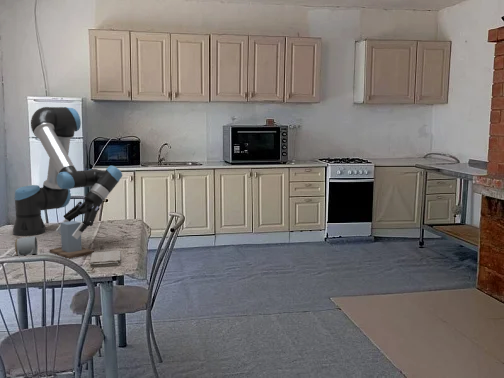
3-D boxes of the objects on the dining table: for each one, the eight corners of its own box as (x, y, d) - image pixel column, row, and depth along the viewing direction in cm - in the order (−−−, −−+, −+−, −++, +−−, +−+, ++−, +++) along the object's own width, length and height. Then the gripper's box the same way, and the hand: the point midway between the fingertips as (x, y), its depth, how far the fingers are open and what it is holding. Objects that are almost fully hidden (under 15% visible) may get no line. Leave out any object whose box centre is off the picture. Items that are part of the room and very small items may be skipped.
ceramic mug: (17, 253, 225) (16, 235, 223) (38, 251, 227) (37, 234, 226) (14, 259, 214) (12, 241, 213) (35, 258, 217) (34, 240, 216)
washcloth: (89, 269, 203) (89, 261, 202) (90, 257, 220) (90, 250, 220) (121, 267, 206) (120, 259, 205) (120, 255, 223) (119, 248, 223)
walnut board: (49, 252, 226) (49, 249, 226) (74, 247, 235) (74, 244, 235) (68, 259, 215) (68, 256, 215) (94, 253, 224) (94, 250, 224)
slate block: (61, 250, 225) (60, 222, 223) (74, 247, 229) (73, 220, 228) (68, 252, 221) (67, 224, 219) (81, 250, 225) (80, 222, 224)
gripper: (117, 204, 225) (87, 244, 216) (86, 198, 242) (57, 235, 233) (106, 193, 221) (75, 234, 212) (75, 188, 237) (45, 225, 228)
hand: (66, 235), depth 222 cm, fingers open, 13 cm apart
